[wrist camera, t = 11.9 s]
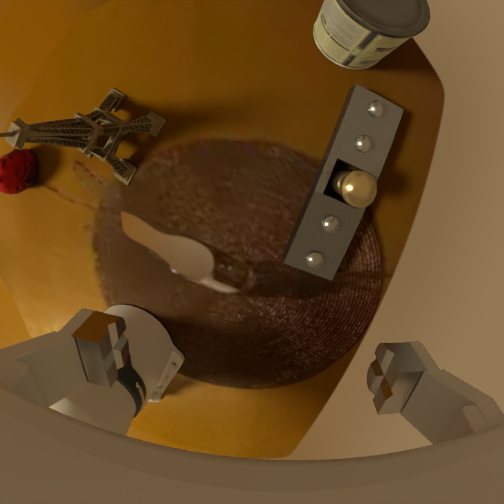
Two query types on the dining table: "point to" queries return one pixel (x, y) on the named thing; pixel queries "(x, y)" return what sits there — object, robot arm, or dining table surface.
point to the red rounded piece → (17, 171)
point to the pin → (354, 187)
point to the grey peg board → (318, 203)
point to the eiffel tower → (89, 133)
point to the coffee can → (367, 29)
